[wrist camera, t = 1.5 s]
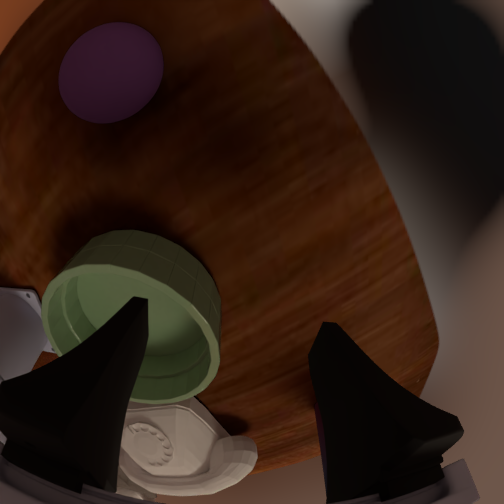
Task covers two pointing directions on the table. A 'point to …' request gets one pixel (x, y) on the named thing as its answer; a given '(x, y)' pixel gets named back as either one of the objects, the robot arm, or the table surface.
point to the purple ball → (111, 72)
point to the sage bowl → (159, 309)
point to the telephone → (182, 449)
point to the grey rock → (131, 484)
